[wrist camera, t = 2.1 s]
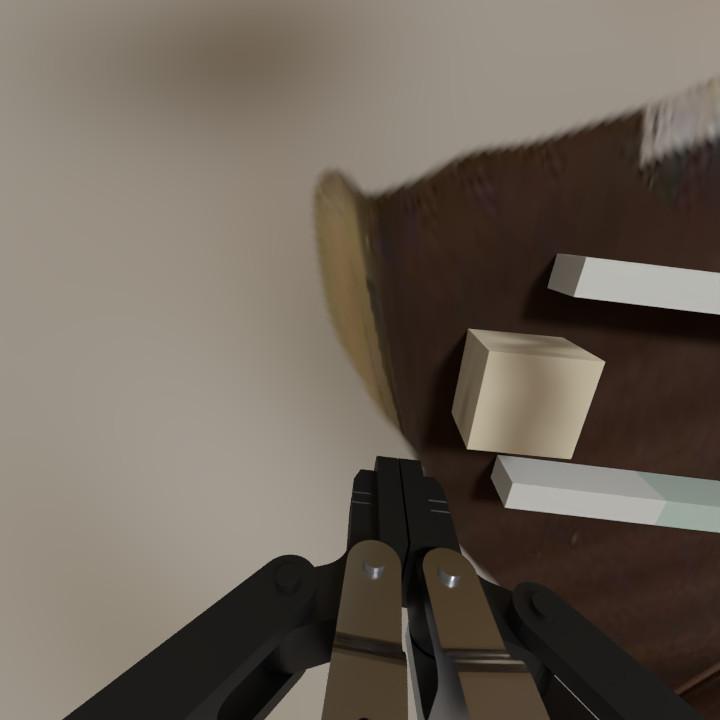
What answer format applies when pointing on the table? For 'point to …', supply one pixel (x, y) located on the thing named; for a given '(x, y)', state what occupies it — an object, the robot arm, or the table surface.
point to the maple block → (523, 393)
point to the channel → (607, 485)
